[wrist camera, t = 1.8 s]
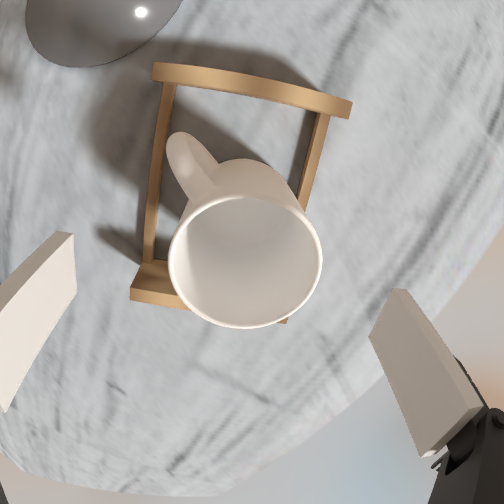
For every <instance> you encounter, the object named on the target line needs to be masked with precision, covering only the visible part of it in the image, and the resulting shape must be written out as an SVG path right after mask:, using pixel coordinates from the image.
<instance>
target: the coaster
mask: <svg viewBox="0 0 504 504" xmlns="http://www.w3.org/2000/svg"><path fill="white" fill-rule="evenodd" d="M181 2H182V0H28V3H27V8H26V28H27V33H28V36H29V39H30V41H31V43H32V45H33V47H34V48H35V49H36V50H37V52H38V53H39V54H40V55H42V56H43V57H44V58H45V59H47V60H49V61H50V62H53V63H55V64H58V65H62V66H67V67H78V68H83V67H93V66H98V65H103V64H106V63H109V62H112V61H115V60H117V59H119V58H121V57H124V56H126V55H127V54H129V53H131V52H133V51H135V50H136V49H138V48H139V47H141V46H142V45H144V44H145V43H146V42H148V41H149V40H150V39H151V38H152V37H154V36H155V35H156V34H157V33H158V32H159V31H160V30H161V29H162V28H163V27H164V26H165V25H166V24H167V22H168V21H169V20H170V19H171V18H172V16H173V15H174V14H175V12H176V11H177V9H178V8H179V6H180V4H181Z"/></svg>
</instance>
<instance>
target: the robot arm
mask: <svg viewBox="0 0 504 504" xmlns="http://www.w3.org/2000/svg"><path fill="white" fill-rule="evenodd" d="M76 293H77V285H76V274H75V261H74V244H73V234H72V233H67V232H62V231H56V232H55V233H54V234H53V235H52V236H51V237H49V238H48V239H47V240H46V241H45V242H44V243H43V244H42V245H41V246H40V247H39V248H37V249H36V250H35V251H34V252H33V253H32V254H31V255H30V256H29V257H28V258H27V259H26V260H25V261H24V262H23V263H22V264H21V265H20V266H19V267H18V268H17V269H16V270H15V271H14V272H13V273H12V274H11V275H10V276H9V277H8V278H7V279H6V280H5V281H4V282H3V283H2V284H1V285H0V411H2V412H4V413H6V412H7V409H8V407H9V405H10V404H11V402H12V400H13V398H14V396H15V394H16V392H17V390H18V388H19V386H20V384H21V383H22V381H23V379H24V377H25V375H26V373H27V372H28V370H29V368H30V366H31V365H32V363H33V361H34V359H35V358H36V356H37V354H38V353H39V351H40V349H41V348H42V346H43V344H44V343H45V341H46V339H47V338H48V336H49V334H50V333H51V331H52V330H53V328H54V327H55V325H56V323H57V322H58V320H59V319H60V317H61V316H62V314H63V313H64V311H65V310H66V308H67V307H68V305H69V304H70V302H71V301H72V299H73V298H74V296H75V295H76ZM369 339H370V341H371V343H372V345H373V348H374V350H375V352H376V354H377V356H378V358H379V361H380V363H381V365H382V367H383V369H384V372H385V374H386V376H387V378H388V380H389V383H390V385H391V387H392V390H393V392H394V394H395V397H396V399H397V401H398V403H399V406H400V408H401V411H402V413H403V416H404V418H405V420H406V423H407V425H408V427H409V430H410V433H411V435H412V438H413V440H414V443H415V445H416V448H417V451H418V453H419V456H420V458H421V457H426V456H430V455H434V454H436V453H438V452H439V451H440V450H441V449H442V448H443V447H444V446H445V445H447V447H448V451H447V452H446V453H445V454H444V455H443V456H442V457H441V458H439V459H438V460H437V461H436V462H435V463H434V464H433V465H432V466H431V468H432V469H433V468H435V467H436V466H437V465H438V464H439V463H441V466H440V467H439V468H438V469H437V470H436V471H438V475H437V479H436V482H435V485H434V488H433V491H432V493H431V496H430V499H429V502H428V504H504V412H503V411H501V410H500V409H497V408H491V409H489V408H488V406H487V404H486V403H485V401H484V399H483V398H482V396H481V394H480V393H479V391H478V389H477V387H476V386H475V384H474V383H473V382H472V381H471V380H472V379H471V378H470V376H469V375H468V374H467V372H466V370H465V368H464V367H463V365H462V364H461V362H460V361H459V360H458V359H456V358H455V357H454V356H453V355H452V353H451V352H450V350H449V349H448V347H447V346H446V344H445V343H444V341H443V340H442V338H441V337H440V335H439V334H438V332H437V331H436V330H435V328H434V327H433V325H432V324H431V322H430V321H429V320H428V318H427V317H426V315H425V314H424V313H423V311H422V310H421V308H420V307H419V306H418V304H417V303H416V302H415V300H414V299H413V297H412V296H411V295H410V293H409V292H408V291H407V290H406V289H399V288H392V291H391V293H390V295H389V297H388V299H387V301H386V303H385V305H384V307H383V309H382V311H381V313H380V315H379V317H378V319H377V321H376V323H375V325H374V327H373V329H372V331H371V333H370V335H369ZM0 504H8V501H7V499H6V496H5V494H4V491H3V488H2V485H1V483H0Z"/></svg>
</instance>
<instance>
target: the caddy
mask: <svg viewBox="0 0 504 504" xmlns="http://www.w3.org/2000/svg"><path fill="white" fill-rule="evenodd" d="M150 80H153V81H157V82H161V83H164V85H163V90H162V95H161V101H160V106H159V112H158V118H157V124H156V131H155V137H154V144H153V151H152V159H151V166H150V175H149V183H148V193H147V203H146V214H145V226H144V240H143V257H142V264H141V266H140V268H139V270H138V272H137V274H136V276H135V278H134V280H133V282H132V284H131V286H130V300H133V301H138V302H143V303H149V304H154V305H160V306H166V307H171V308H177V309H183V310H189V311H192V310H190V309H189V308H188V307H187V306H186V305H185V304H184V303H183V301H182V300H181V299H180V298H179V296H178V294H177V293H176V291H175V289H174V287H173V284H172V282H171V279H170V275H169V271H168V261H165V260H159V259H153V257H154V244H155V232H156V221H157V211H158V202H159V193H160V185H161V177H162V170H163V162H164V155H165V149H166V142H167V136H168V130H169V124H170V118H171V112H172V107H173V101H174V96H175V91H176V86H177V85H182V86H190V87H197V88H204V89H211V90H217V91H223V92H229V93H234V94H240V95H245V96H250V97H255V98H260V99H265V100H269V101H274V102H278V103H282V104H286V105H291V106H295V107H299V108H302V109H306V110H310V111H314V112H317V116H316V120H315V124H314V128H313V132H312V136H311V140H310V144H309V148H308V152H307V156H306V160H305V164H304V168H303V171H302V175H301V179H300V183H299V187H298V190H297V194H296V199H297V201H298V202H299V204H300V206H301V207H302V209H303V210H304V212H305V210H306V206H307V203H308V199H309V196H310V192H311V188H312V185H313V181H314V177H315V174H316V170H317V166H318V163H319V159H320V155H321V151H322V148H323V144H324V140H325V136H326V132H327V128H328V124H329V120H330V116H334V117H339V118H344V119H349V115H350V111H351V107H352V103H353V102H351V101H348V100H344V99H341V98H338V97H335V96H332V95H328V94H325V93H322V92H318V91H315V90H311V89H307V88H304V87H300V86H296V85H292V84H288V83H284V82H280V81H276V80H271V79H267V78H262V77H257V76H253V75H248V74H242V73H237V72H231V71H225V70H219V69H213V68H206V67H199V66H191V65H182V64H173V63H162V62H154V64H153V69H152V74H151V79H150ZM288 317H289V316H288ZM288 317H286V318H284V319H283V320H280V321H278V322H276V323H283V324H286V323H287V320H288Z"/></svg>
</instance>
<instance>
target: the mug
mask: <svg viewBox="0 0 504 504" xmlns="http://www.w3.org/2000/svg"><path fill="white" fill-rule="evenodd" d="M166 154H167V159H168V162H169V165H170V167H171V169H172V171H173V173H174V175H175V177H176V179H177V181H178V182H179V184H180V186H181V188H182V189H183V191H184V192H185V194H186V195H187V197H188V198H189V200H188V202H187V204H186V207H185V209H184V211H183V214H182V216H181V219H180V221H179V223H178V226H177V228H176V231H175V233H174V235H173V238H172V241H171V243H170V247H169V252H168V271H169V275H170V279H171V282H172V284H173V287H174V289H175V291H176V293H177V294H178V296H179V298H180V299H181V300H182V301H183V303H184V304H185V305H186V306H187V307H188V308H189V309H190V310H192V311H193V312H194V313H195V314H197V315H198V316H200V317H202V318H203V319H205V320H207V321H209V322H212V323H214V324H217V325H220V326H224V327H229V328H238V329H250V328H258V327H263V326H267V325H270V324H273V323H276V322H278V321H280V320H283V319H284V318H286V317H288V316H290V315H291V314H293V313H294V312H295V311H297V310H298V309H299V308H300V307H301V306H302V305H303V304H304V303H305V302H306V301H307V300H308V298H309V297H310V296H311V294H312V293H313V291H314V289H315V287H316V285H317V283H318V280H319V277H320V274H321V268H322V249H321V244H320V241H319V238H318V235H317V233H316V231H315V229H314V227H313V226H312V224H311V222H310V221H309V219H308V217H307V215H306V214H305V212H304V210H303V209H302V207H301V206H300V204H299V202H298V201H297V199H296V197H295V196H294V194H293V192H292V191H291V189H290V188H289V186H288V185H287V183H286V182H285V180H284V179H283V178H282V177H281V176H280V174H279V173H277V172H276V171H275V170H274V169H273V168H271V167H269V166H268V165H266V164H264V163H261V162H259V161H255V160H251V159H232V160H228V161H225V162H222V163H219V164H218V163H217V161H216V160H215V159H214V158H213V156H212V155H211V154H210V153H209V152H208V150H207V149H206V148H205V147H204V146H203V145H202V144H201V143H200V142H199V141H198V140H197V139H196V138H194V137H193V136H192V135H190V134H188V133H185V132H176V133H174V134H172V135H171V136H170V137H169V138H168V141H167V144H166Z"/></svg>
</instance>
